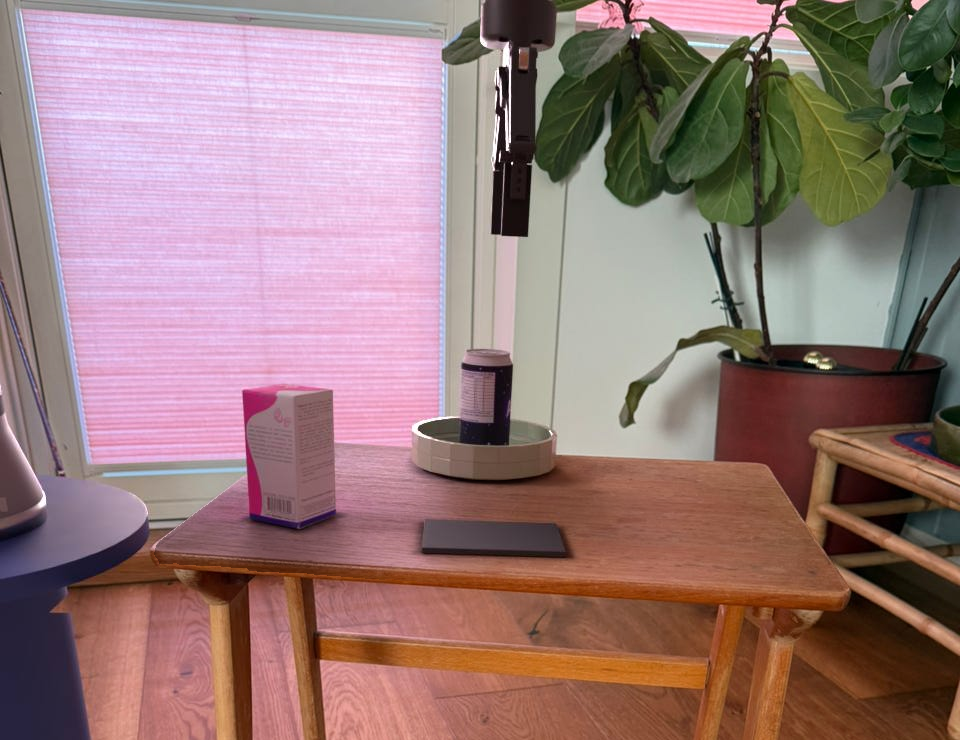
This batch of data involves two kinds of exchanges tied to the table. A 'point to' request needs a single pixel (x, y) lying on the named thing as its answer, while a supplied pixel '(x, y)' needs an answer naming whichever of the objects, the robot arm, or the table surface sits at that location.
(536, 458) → the bowl
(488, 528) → the mat
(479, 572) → the table surface
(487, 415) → the beverage can
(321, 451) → the supplement box
